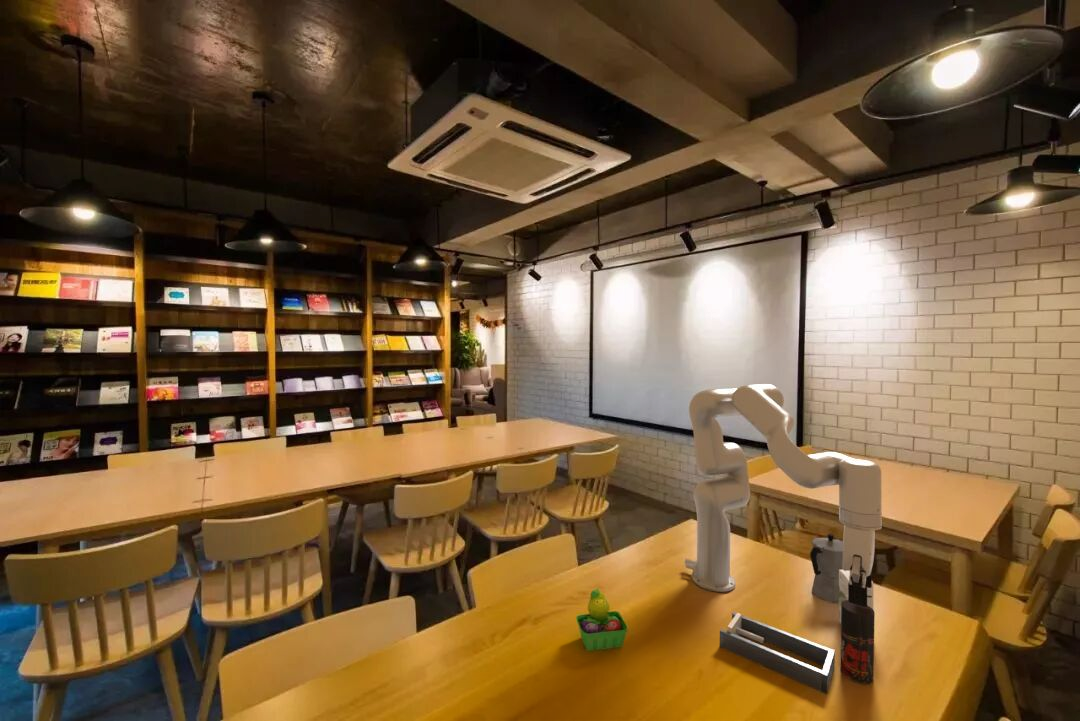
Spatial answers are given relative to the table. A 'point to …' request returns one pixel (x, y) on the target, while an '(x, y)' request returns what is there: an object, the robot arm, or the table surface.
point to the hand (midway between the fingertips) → (860, 594)
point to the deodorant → (857, 642)
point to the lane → (780, 661)
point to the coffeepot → (827, 567)
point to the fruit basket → (601, 624)
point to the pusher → (736, 629)
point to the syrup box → (844, 590)
